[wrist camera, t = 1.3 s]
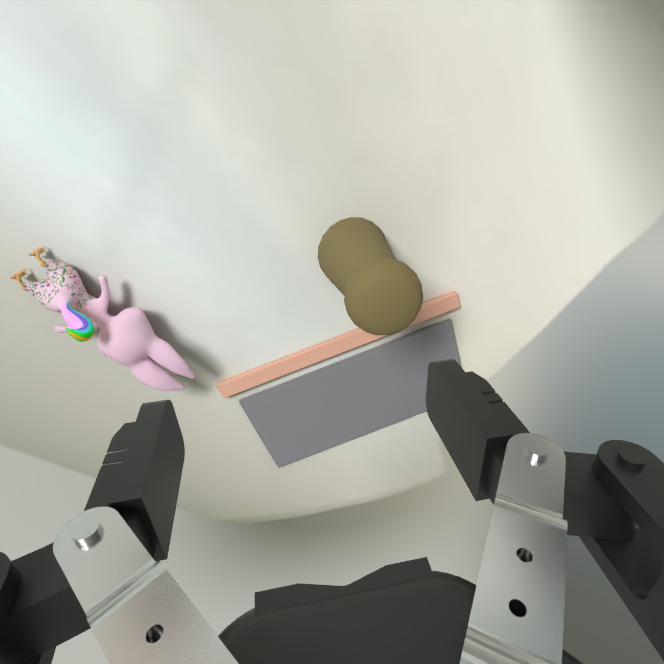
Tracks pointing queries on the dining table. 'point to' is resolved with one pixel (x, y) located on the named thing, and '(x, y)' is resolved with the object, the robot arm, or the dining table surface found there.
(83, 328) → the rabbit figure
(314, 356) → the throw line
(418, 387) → the mat
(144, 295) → the dining table surface
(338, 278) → the cork
